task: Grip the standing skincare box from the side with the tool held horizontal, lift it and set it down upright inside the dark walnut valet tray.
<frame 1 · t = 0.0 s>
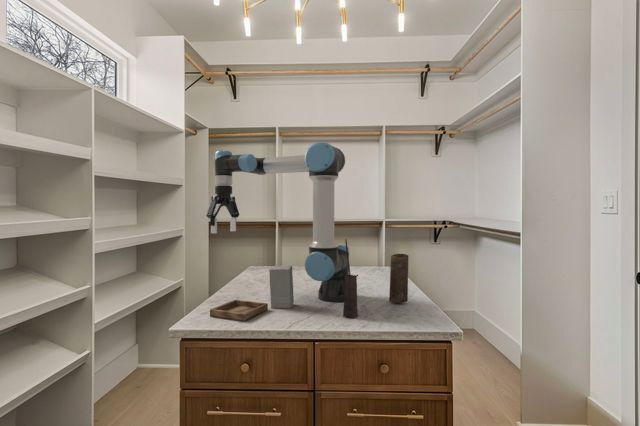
hand: (223, 232, 159), 28 cm above the table, tool pointing down, fingers open, 13 cm apart
walnut tray: (239, 313, 130), on the table
butter churn: (353, 316, 126), on the table
skincare box: (281, 306, 139), on the table
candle: (398, 303, 144), on the table
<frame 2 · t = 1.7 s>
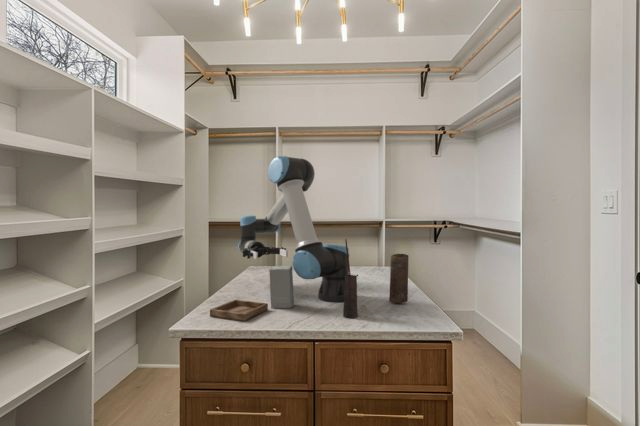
hand: (272, 254, 147), 19 cm above the table, tool horizontal, fingers open, 13 cm apart
nothing on the table moved.
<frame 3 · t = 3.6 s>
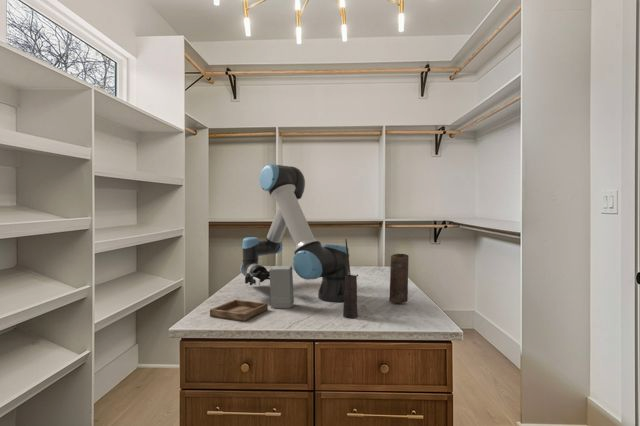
hand: (275, 281, 144), 9 cm above the table, tool horizontal, fingers open, 13 cm apart
nothing on the table moved.
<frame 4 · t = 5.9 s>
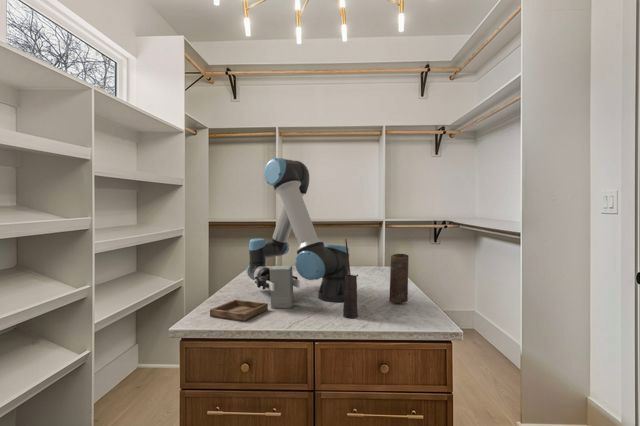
hand: (286, 285, 135), 9 cm above the table, tool horizontal, fingers closed on skincare box, 10 cm apart
skincare box: (281, 306, 139), on the table, touching gripper
everything else where it was.
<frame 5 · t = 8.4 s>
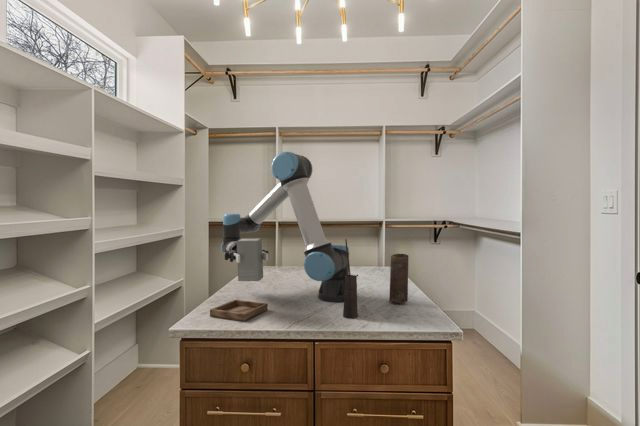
hand: (253, 258, 129), 21 cm above the table, tool horizontal, fingers closed on skincare box, 10 cm apart
skincare box: (249, 280, 133), point 11 cm above the table, touching gripper
everything else where it was.
when the fingers open (11 cm above the table, at t = 11.0 s): skincare box drops 1 cm, resting on walnut tray.
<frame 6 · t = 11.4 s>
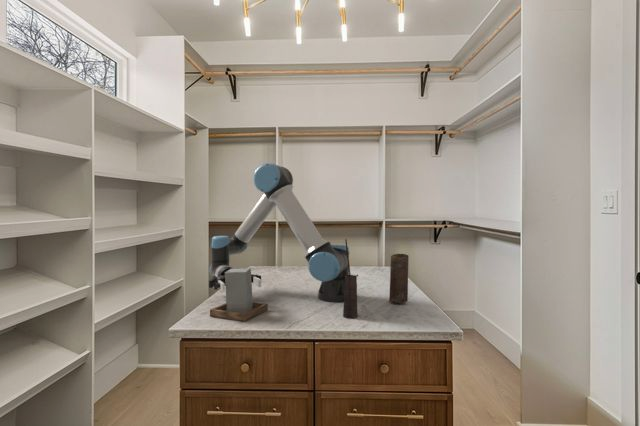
hand: (242, 285, 127), 11 cm above the table, tool horizontal, fingers open, 13 cm apart
skincare box: (239, 312, 130), resting on walnut tray
everything else where it was.
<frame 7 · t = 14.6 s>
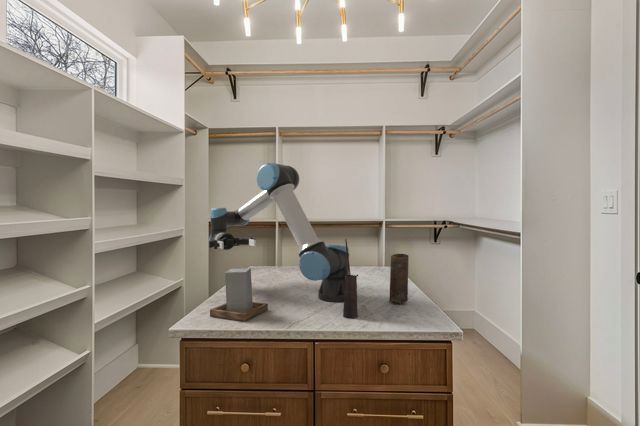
hand: (239, 244, 142), 24 cm above the table, tool horizontal, fingers open, 13 cm apart
nothing on the table moved.
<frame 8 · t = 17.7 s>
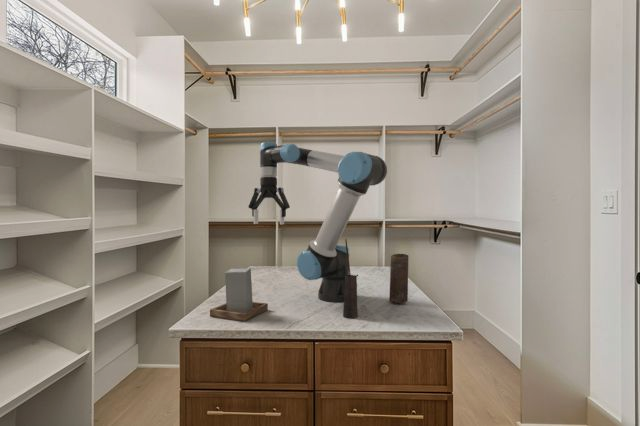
hand: (268, 224, 158), 32 cm above the table, tool pointing down, fingers open, 13 cm apart
nothing on the table moved.
at the end: skincare box inside the target area on the walnut tray (0.2 cm from its centre), point 0.3 cm above the walnut tray's base; skincare box tilted 0°; the gripper is holding nothing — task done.
